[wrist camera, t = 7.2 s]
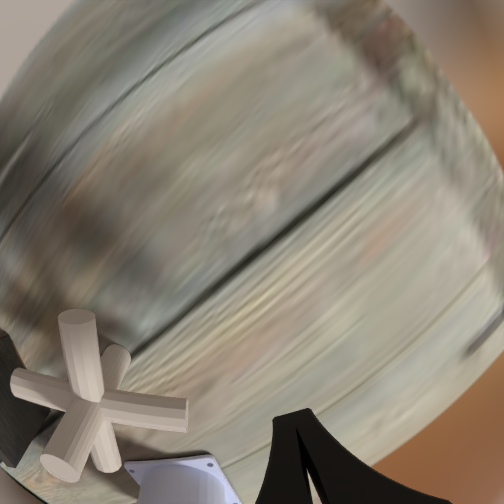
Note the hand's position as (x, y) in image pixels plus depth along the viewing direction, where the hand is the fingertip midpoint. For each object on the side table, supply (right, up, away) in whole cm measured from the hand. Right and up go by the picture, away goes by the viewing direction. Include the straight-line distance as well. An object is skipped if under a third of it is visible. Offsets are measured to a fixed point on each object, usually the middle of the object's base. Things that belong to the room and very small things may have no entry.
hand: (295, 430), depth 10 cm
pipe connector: (-10, 0, +8) cm, 13 cm away
